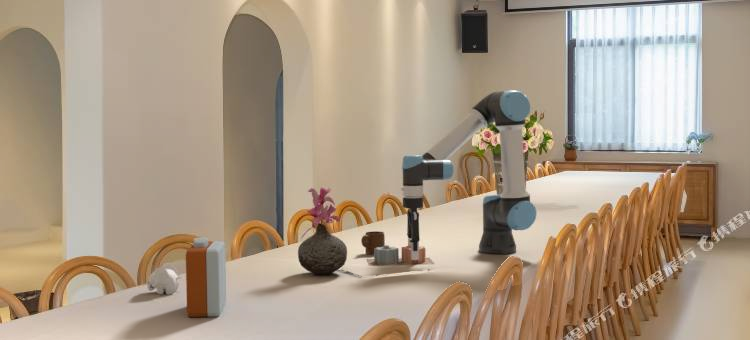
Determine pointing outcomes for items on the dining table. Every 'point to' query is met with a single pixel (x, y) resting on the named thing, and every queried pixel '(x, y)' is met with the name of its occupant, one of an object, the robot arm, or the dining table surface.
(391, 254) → the gear
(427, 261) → the gear board
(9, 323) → the dining table surface
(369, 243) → the mug
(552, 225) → the dining table surface
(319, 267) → the vase
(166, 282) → the elephant figurine
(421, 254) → the gear
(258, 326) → the dining table surface
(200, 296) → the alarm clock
